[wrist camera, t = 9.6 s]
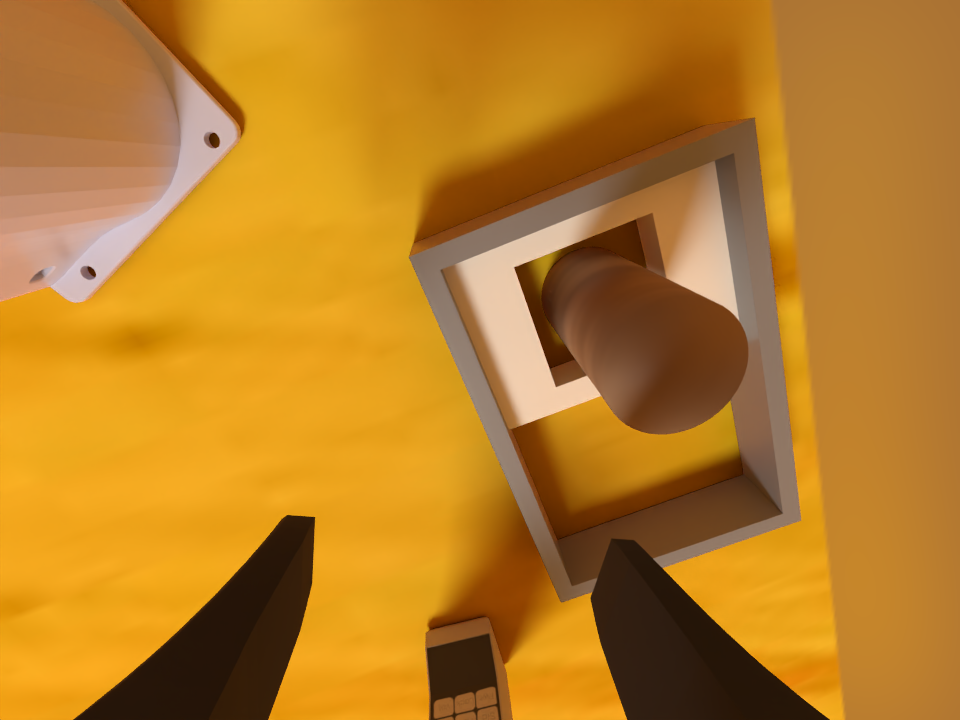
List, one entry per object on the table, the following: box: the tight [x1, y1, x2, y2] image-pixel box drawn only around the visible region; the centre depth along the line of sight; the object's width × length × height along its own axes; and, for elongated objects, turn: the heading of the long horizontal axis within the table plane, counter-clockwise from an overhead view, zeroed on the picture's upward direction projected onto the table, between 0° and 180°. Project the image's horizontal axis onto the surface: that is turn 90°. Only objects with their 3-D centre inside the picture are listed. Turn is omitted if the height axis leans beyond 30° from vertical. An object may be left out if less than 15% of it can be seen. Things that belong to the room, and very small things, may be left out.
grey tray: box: [409, 118, 801, 602], centre depth 20 cm, size 18×12×3 cm, turn 21°
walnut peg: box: [541, 247, 749, 434], centre depth 16 cm, size 4×4×8 cm
